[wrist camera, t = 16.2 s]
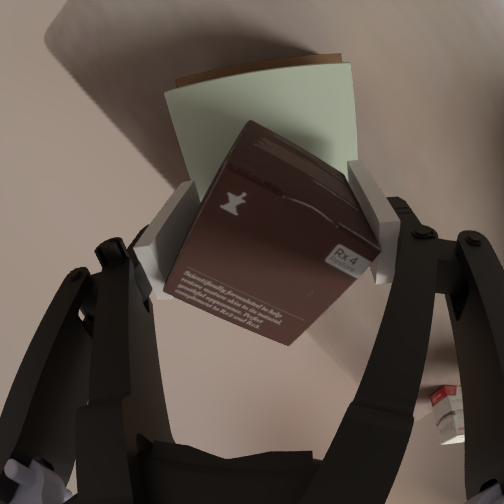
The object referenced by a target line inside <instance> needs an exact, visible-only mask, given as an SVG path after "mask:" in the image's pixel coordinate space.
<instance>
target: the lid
mask: <svg viewBox="0 0 504 504" xmlns="http://www.w3.org/2000/svg"><path fill="white" fill-rule="evenodd" d="M164 96H165V99H166V102H167V106H168V109H169V112H170V116H171V119H172V122H173V126H174V129H175V132H176V135H177V139H178V142H179V145H180V148H181V151H182V155H183V158H184V161H185V164H186V167H187V170H188V173H189V176H190V180H195V184H196V187H197V191H198V194H199V198H200V202H201V201H202V200H203V198H204V196H205V194H206V192H207V190H208V188H209V186H210V184H211V182H212V181H213V179H214V177H215V175H216V173H217V171H218V170H219V168H220V166H221V164H222V163H223V161H224V159H225V157H226V156H227V154H228V152H229V150H230V149H231V147H232V145H233V144H234V142H235V140H236V138H237V137H238V135H239V133H240V132H241V130H242V128H243V127H244V126H245V124H246V123H247V122H248V121H249V120H252V121H254V122H256V123H258V124H260V125H262V126H264V127H265V128H267V129H269V130H271V131H273V132H275V133H277V134H278V135H280V136H282V137H284V138H286V139H287V140H289V141H291V142H293V143H294V144H296V145H298V146H300V147H301V148H303V149H304V150H306V151H308V152H309V153H311V154H313V155H314V156H316V157H318V158H319V159H321V160H322V161H324V162H326V163H327V164H329V165H330V166H332V167H334V168H335V169H337V170H338V171H340V172H342V173H343V174H344V175H345V177H346V179H347V181H348V171H347V161H352V160H358V152H357V131H356V116H355V103H354V92H353V82H352V73H351V64H350V63H349V62H337V63H321V64H308V65H298V66H289V67H281V68H273V69H266V70H259V71H253V72H247V73H242V74H236V75H231V76H226V77H221V78H217V79H212V80H208V81H203V82H199V83H195V84H191V85H187V86H183V87H180V88H176V89H172V90H169V91H166V92H165V93H164Z"/></svg>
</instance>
